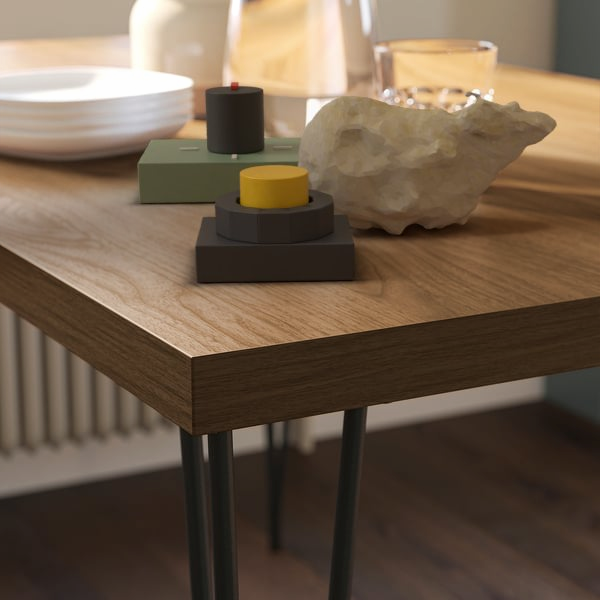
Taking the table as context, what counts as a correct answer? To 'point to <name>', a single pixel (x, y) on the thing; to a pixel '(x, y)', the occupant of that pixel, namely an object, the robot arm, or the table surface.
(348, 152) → the cream lumpy rock
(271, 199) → the trigger button
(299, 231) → the button housing
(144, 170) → the dial panel
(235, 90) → the dial
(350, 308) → the table surface
